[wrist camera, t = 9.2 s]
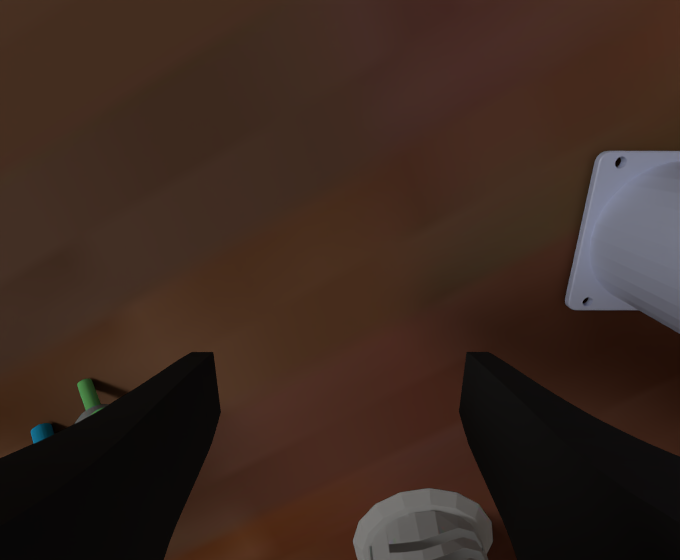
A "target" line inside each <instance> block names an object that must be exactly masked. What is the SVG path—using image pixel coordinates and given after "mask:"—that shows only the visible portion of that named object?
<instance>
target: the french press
mask: <svg viewBox="0 0 680 560" xmlns="http://www.w3.org/2000/svg"><path fill="white" fill-rule="evenodd" d="M353 543H354V547H355V551H356V555H357V559H358V560H488V558H487V553H488V551H489V549H490V547H491V545H492V543H493V535H492V522H491V521H490V519H489V518H488V516H487V515H486V514H485V512H484V511H483V509H482V508H481V507H480V505H479V504H477V503H475V502H473V501H472V500H470V499H468V498H466V497H464V496H462V495H461V494H459V493H457V492H450V491H444V490H437V489H431V488H427V489H420V490H413V491H406V492H400V493H398V494H396V495H394V496H392V497H390V498H388V499H385V500H383V501H381V502H379V503H377V504H375V505H374V506H373V507H372V508H371V510H370V511H369V512H368V513H367V514H366V515H365V516H364V517H363V518H362V519H361V520H360V521H359V523H358V526H357V530H356V533H355V536H354V539H353Z"/></svg>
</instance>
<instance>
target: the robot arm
mask: <svg viewBox="0 0 680 560" xmlns="http://www.w3.org/2000/svg"><path fill="white" fill-rule="evenodd" d="M619 157H620V159H621V163H620V165H619V166H618V167H616V166H615V162H616V160H617V159H618V158H619ZM587 297H588V300H587V302H585V303H583V300H584V299H585V298H587ZM565 304H566V305H567V306H568V307H569V308H571V309H572V310H639V311H641V312H643V313H645V314H646V315H648V316H650V317H652V318H653V319H655V320H657V321H658V322H660V323H662V324H664V325H665V326H667V327H669V328H671V329H672V330H674V331H676V332H678V333H679V334H680V151H604V152H602V153H601V154H599V155H598V156H597V158H596V160H595V163H594V167H593V172H592V177H591V181H590V186H589V191H588V195H587V200H586V204H585V209H584V214H583V218H582V223H581V228H580V232H579V237H578V241H577V246H576V251H575V255H574V260H573V264H572V269H571V274H570V278H569V283H568V288H567V292H566V297H565ZM220 413H221V410H220V402H219V394H218V386H217V378H216V370H215V362H214V354H213V352H191V353H189V354H188V355H186V356H184V357H183V358H181V359H179V360H178V361H176V362H175V363H173V364H172V365H170V366H169V367H167V368H166V369H164V370H163V371H161V372H160V373H158V374H157V375H155V376H154V377H152V378H151V379H149V380H148V381H146V382H145V383H143V384H142V385H140V386H139V387H137V388H135V389H134V390H132V391H131V392H129V393H127V394H126V395H124V396H122V397H121V398H119V399H117V400H116V401H114V402H112V403H111V404H109V405H108V406H106V407H104V408H103V409H101V410H99V411H97V412H96V413H94V414H92V415H90V416H89V417H87V418H85V419H83V420H81V421H79V422H77V423H75V424H73V425H72V426H70V427H68V428H66V429H64V430H62V431H60V432H58V433H56V434H54V435H52V436H50V437H47V438H45V439H43V440H41V441H39V442H36V443H34V444H32V445H29V446H27V447H25V448H23V449H20V450H18V451H16V452H14V453H11V454H9V455H7V456H4V457H2V458H0V560H164V557H165V554H166V551H167V548H168V545H169V542H170V539H171V537H172V534H173V532H174V529H175V527H176V524H177V522H178V519H179V517H180V515H181V513H182V510H183V508H184V506H185V504H186V501H187V499H188V497H189V495H190V492H191V490H192V488H193V485H194V483H195V481H196V479H197V476H198V474H199V472H200V470H201V467H202V465H203V463H204V460H205V458H206V456H207V454H208V451H209V449H210V446H211V444H212V441H213V437H214V434H215V431H216V427H217V424H218V420H219V416H220ZM459 413H460V417H461V420H462V424H463V428H464V431H465V434H466V437H467V441H468V444H469V446H470V449H471V451H472V453H473V455H474V458H475V460H476V462H477V464H478V467H479V469H480V471H481V473H482V476H483V478H484V480H485V482H486V485H487V487H488V489H489V491H490V493H491V496H492V498H493V500H494V502H495V504H496V507H497V509H498V511H499V513H500V516H501V518H502V520H503V522H504V525H505V527H506V530H507V532H508V535H509V537H510V540H511V542H512V545H513V548H514V551H515V554H516V557H517V560H680V457H679V456H677V455H674V454H672V453H669V452H667V451H665V450H662V449H660V448H658V447H655V446H653V445H651V444H648V443H646V442H644V441H642V440H640V439H637V438H635V437H633V436H631V435H629V434H627V433H625V432H623V431H621V430H619V429H617V428H615V427H613V426H611V425H609V424H607V423H605V422H603V421H601V420H599V419H597V418H595V417H593V416H592V415H590V414H588V413H586V412H584V411H583V410H581V409H579V408H577V407H576V406H574V405H572V404H570V403H569V402H567V401H565V400H564V399H562V398H560V397H559V396H557V395H555V394H554V393H552V392H551V391H549V390H547V389H546V388H544V387H543V386H541V385H539V384H538V383H536V382H535V381H533V380H532V379H530V378H529V377H527V376H526V375H524V374H523V373H521V372H520V371H518V370H517V369H515V368H513V367H512V366H510V365H509V364H507V363H506V362H504V361H503V360H501V359H499V358H498V357H496V356H494V355H493V354H491V353H489V352H467V354H466V362H465V369H464V377H463V385H462V393H461V400H460V408H459Z"/></svg>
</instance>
